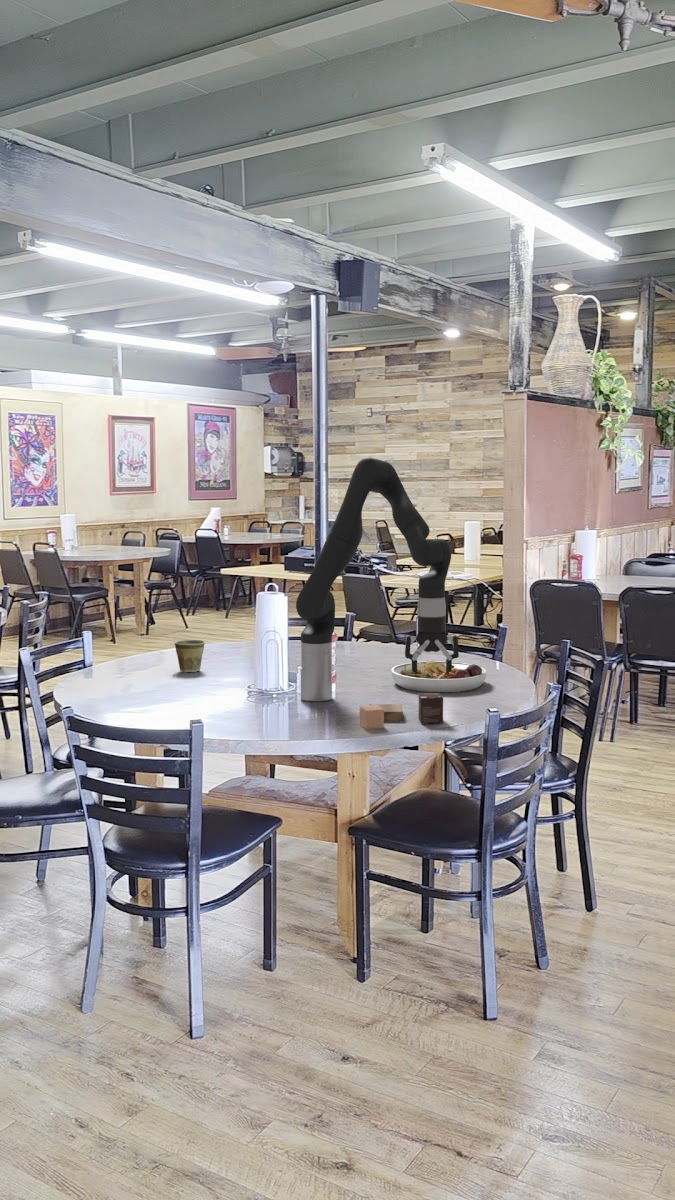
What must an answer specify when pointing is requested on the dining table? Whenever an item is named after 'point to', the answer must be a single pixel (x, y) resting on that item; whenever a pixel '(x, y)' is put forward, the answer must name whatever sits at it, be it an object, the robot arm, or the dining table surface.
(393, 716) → the plinth
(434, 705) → the box
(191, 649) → the ceramic cup
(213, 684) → the dining table surface
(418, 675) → the bowl
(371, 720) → the terracotta block
